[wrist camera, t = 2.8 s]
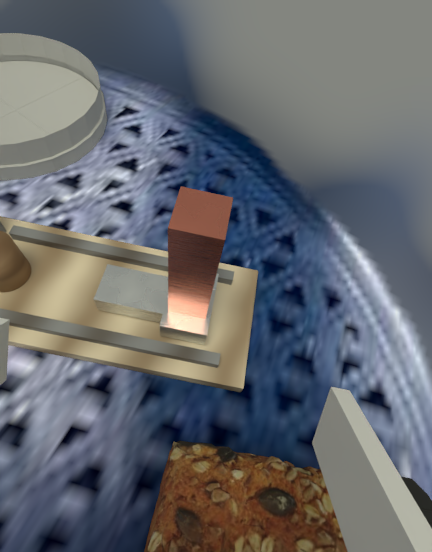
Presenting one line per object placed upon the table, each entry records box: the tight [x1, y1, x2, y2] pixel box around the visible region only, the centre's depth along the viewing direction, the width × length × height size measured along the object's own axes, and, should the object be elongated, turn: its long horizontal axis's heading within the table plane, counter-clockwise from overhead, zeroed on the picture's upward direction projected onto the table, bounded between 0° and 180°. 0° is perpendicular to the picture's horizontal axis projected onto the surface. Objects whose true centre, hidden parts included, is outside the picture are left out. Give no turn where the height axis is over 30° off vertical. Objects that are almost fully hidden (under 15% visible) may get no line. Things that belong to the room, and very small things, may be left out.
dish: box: [0, 33, 107, 180], centre depth 42 cm, size 22×22×5 cm
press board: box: [0, 217, 258, 392], centre depth 30 cm, size 30×12×8 cm, turn 80°
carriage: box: [93, 187, 233, 345], centre depth 25 cm, size 10×6×14 cm, turn 80°
